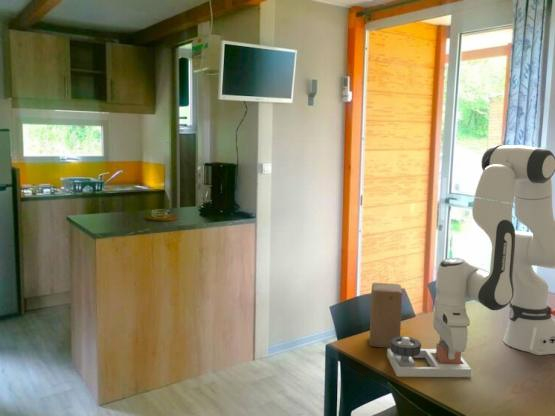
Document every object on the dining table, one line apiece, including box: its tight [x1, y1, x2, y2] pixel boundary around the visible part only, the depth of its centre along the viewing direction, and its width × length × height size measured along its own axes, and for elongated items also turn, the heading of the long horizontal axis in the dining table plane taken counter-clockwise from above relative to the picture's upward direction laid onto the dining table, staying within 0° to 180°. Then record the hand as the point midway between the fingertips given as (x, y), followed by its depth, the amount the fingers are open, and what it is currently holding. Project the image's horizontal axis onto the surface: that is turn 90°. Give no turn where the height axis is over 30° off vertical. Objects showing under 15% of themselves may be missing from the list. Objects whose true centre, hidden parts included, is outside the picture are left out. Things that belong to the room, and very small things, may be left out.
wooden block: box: [369, 282, 403, 349], centre depth 179 cm, size 10×10×20 cm
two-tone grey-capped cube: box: [435, 340, 462, 364], centre depth 162 cm, size 6×5×6 cm
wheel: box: [389, 335, 422, 357], centre depth 162 cm, size 9×9×3 cm
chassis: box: [386, 336, 472, 378], centre depth 162 cm, size 22×14×9 cm, turn 90°
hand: (447, 354), depth 162 cm, fingers closed on two-tone grey-capped cube, 5 cm apart
